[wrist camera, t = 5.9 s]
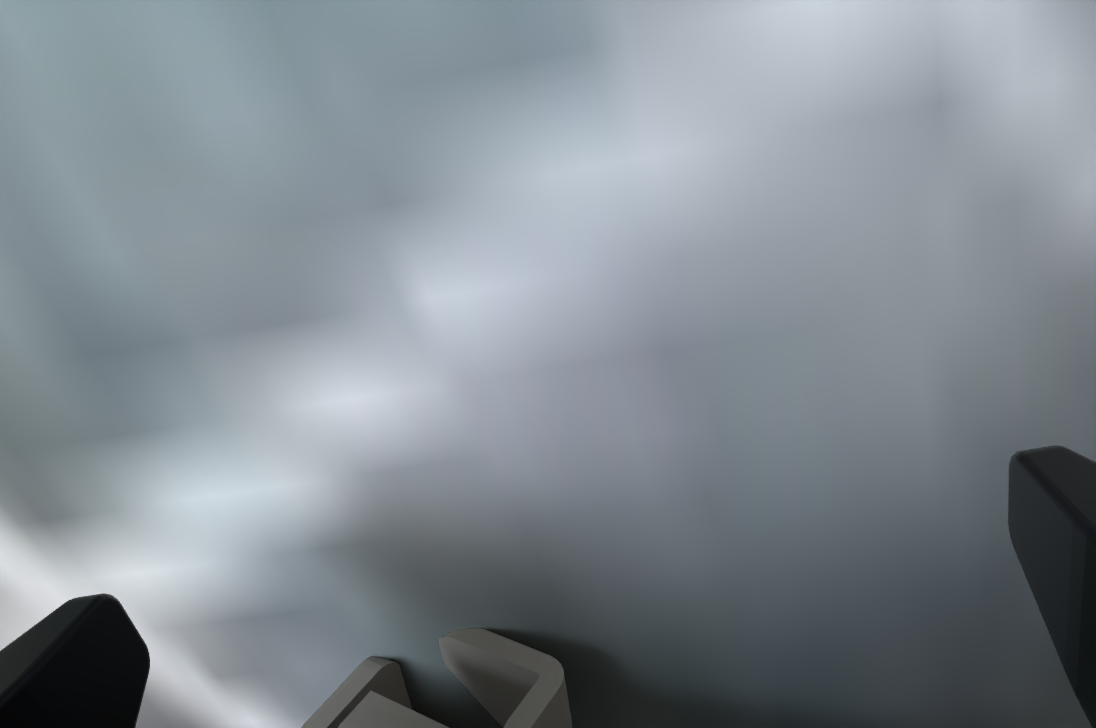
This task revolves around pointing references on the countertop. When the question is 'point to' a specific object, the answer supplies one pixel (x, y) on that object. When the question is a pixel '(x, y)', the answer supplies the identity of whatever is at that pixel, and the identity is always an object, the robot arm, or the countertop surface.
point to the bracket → (479, 664)
